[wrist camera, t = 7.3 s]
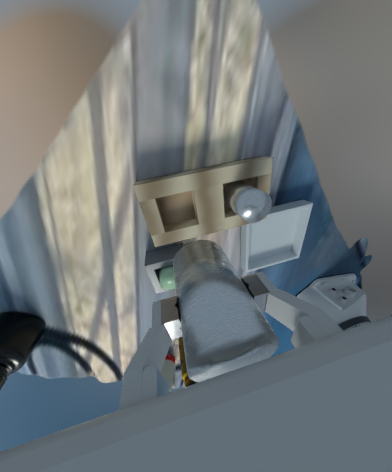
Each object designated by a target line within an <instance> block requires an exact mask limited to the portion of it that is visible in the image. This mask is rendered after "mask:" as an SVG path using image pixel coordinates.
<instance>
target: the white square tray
mask: <svg viewBox="0 0 392 472" xmlns="http://www.w3.org/2000/svg"><path fill="white" fill-rule="evenodd" d="M312 205H313V203H311V202H308V201H305V200H303V199H302V200H298V201H293V202H289V203H285V204H281V205H277V206H273V207H271V209H270V212H269V213H268V215H267V219H266V220H262V221H259V222H257V223H250V224H246V225H242V226H240V266H241V267H242V269H243V270H244V272H245V273H247V272H250V271H254V270H257V269H261V268H264V267H268V266H271V265H275V264H278V263H282V262H285V261H289V260H292V259H296V258H299V255H300V251H301V247H302V244H303V240H304V236H305V232H306V228H307V225H308V221H309V217H310V213H311V209H312Z"/></svg>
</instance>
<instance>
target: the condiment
mask: <svg viewBox="0 0 392 472" xmlns="http://www.w3.org/2000/svg"><path fill="white" fill-rule="evenodd" d="M174 345H179V351H180V361H181V370H182V377H183V379H184V381H185V382H184V384H185V387H187V386H190V385H193V384H196V383H199V382H195V381H193V380H191V379H190V378H189V377H188V374H187V367H186V360H185V352H184V345H183V337H179V338H177V340H176V341H175V343H174Z"/></svg>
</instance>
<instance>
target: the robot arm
mask: <svg viewBox="0 0 392 472" xmlns="http://www.w3.org/2000/svg"><path fill="white" fill-rule="evenodd" d="M241 280H242V282H243V283H244V285H245V286H246V288H247V290H248V291H249V293H250V294H251V296H252V298H253V299H254V301H255V302H256V304H257V305H258V307H259V309H260V310H261V312H262V311H265V312H267V313H268V314H269V315H271V316H272V317H274V318H275V319H277V320H278V321H279V322H281V323H282V324H284V325H285V326H286V327H288V328H289V329H291V330H292V331H293V335H292V338H291V342H292V344H293V345H294V347H295V348H296V349H293V350H290V351H287V352H284V353H281V354H279V355H276V356H273V357H270V358H267V359H264V360H261V361H259V362H256V363H253V364H250V365H247V366H244V367H241V368H239V369H236V370H233V371H230V372H227V373H224V374H221V375H219V376H216V377H213V378H210V379H207V380H204V381H201V382H199V383H196V384H193V385H190V386H187V387H184V388H181V389H179V390H176V391H173V392H170V393H169V387H168V382H167V381H166V379H165V378H164V377H163V375H162V374H161V369H162V367H163V364H164V361H165V358H166V356H167V353H168V350H169V347H170V345H171V342H172V341H171V340H173V339H176V338H179V337H182V330H181V322H180V315H179V308H178V300H177V296H175V297H171V298H167V299H163V300H159V301H156V302H153V306H152V328H150V329H149V330H148V332H147V334H146V336H145V337H144V339H143V341H142V343H141V345H140V346H139V348H138V350H137V352H136V353H135V355H134V357H133V359H132V360H131V362H130V364H129V366H128V367H127V369H126V371H125V373H124V378H123V385H122V392H121V399H120V406H119V411H116V412H113V413H110V414H107V415H105V416H101V417H99V418H96V419H93V420H91V421H87V422H84V423H81V424H79V425H76V426H73V427H70V428H68V429H64V430H62V431H59V432H56V433H53V434H50V435H47V436H44V437H42V438H39V439H36V440H33V441H30V442H27V443H25V444H22V445H19V446H16V447H13V448H10V449H8V450H5V451H2V452H0V472H392V315H390V316H387V317H384V318H382V319H379V320H376V321H373V322H371V321H370V320H369V319H368V317H366V295H365V293H364V292H363V291H362V290H361V289H360V288H359V287H358V286H356V285H355V282H356V275H355V274H353V273H350V274H344V275H337V276H331V277H325V278H319V279H316V280H315V281H314V282H313V283H312V284H311V285H310V286H309V287H307V288H306V289H305V290H303V291H302V292H301V293H300V294H298V295H297V296H296V297H295V296H293V295H291V294H289V293H287V292H285V291H282V290H280V289H279V290H278V289H277V288H276V287H275V286H274V285H273V284H272V282H271V281H270V280H269V279H268V278H267V276H266V275H265V274H264V273H263V272H258V273H255V274H251V275H248V276H244V277H241Z"/></svg>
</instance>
